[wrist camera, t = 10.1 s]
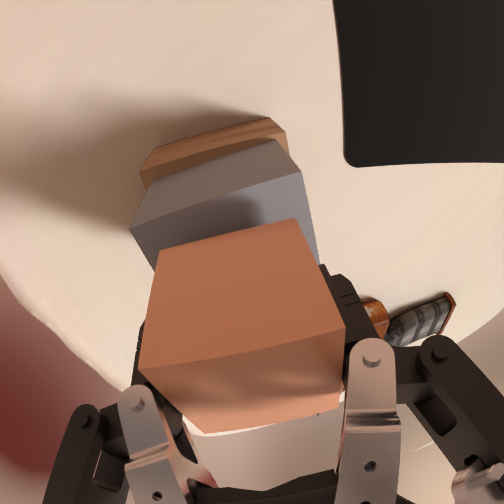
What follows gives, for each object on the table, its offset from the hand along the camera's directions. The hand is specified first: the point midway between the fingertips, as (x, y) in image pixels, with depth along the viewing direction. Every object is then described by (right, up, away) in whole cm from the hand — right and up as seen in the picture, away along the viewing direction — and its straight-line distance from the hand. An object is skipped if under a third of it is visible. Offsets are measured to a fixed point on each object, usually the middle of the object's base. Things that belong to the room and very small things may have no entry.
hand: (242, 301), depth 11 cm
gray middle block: (-1, +4, +6) cm, 7 cm away
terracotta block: (0, 0, +1) cm, 1 cm away
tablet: (+19, +19, +5) cm, 27 cm away
